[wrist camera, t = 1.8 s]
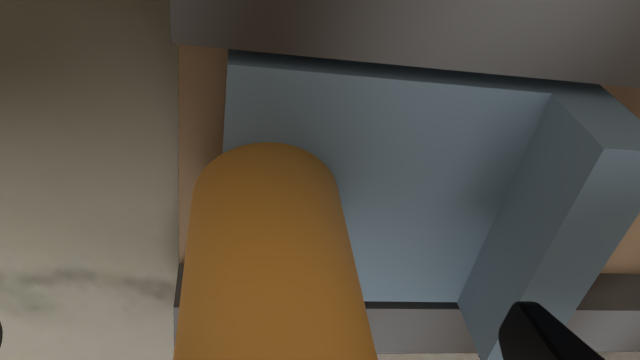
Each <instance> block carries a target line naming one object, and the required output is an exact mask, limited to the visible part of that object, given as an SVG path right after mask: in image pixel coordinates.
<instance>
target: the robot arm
mask: <svg viewBox="0 0 640 360" xmlns="http://www.w3.org/2000/svg"><path fill="white" fill-rule="evenodd" d="M2 335H3V332H2V326H1V323H0V347H1V343H2ZM498 339H499V344H500V348H501V353H502V357H503V360H605V359H604V358H602V357H601V356H600V355H599V354H598V353H597V352H595V351H594V350H593V349H592V348H591V347H590V346H588V345H587V344H586V343H585V342H584V341H583V340H581V339H580V338H579V337H578V336H577V335H576V334H574V333H573V332H572V331H571V330H570V329H568V328H567V327H566V326H565V325H564V324H563V323H561V322H560V321H559V320H558V319H557V318H556V317H554V316H553V315H552V314H551V313H550V312H549V311H547V310H546V309H545V308H544V307H543V306H542V305H540V304H539V303H537V302H534V301H516V302H515V303H513V304H512V305H511V307H510V309H509V311H508V313H507V315H506V316H505V318H504V320H503V322H502V324H501V326H500V328H499V332H498Z"/></svg>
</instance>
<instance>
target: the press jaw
mask: <svg viewBox="0 0 640 360" xmlns="http://www.w3.org/2000/svg"><path fill="white" fill-rule="evenodd" d="M639 213H640V119H638V118H637V117H636V116H635V115H634V114H633V113H632V112H630V111H629V110H628V109H627V108H626V107H625V106H624V105H622V104H621V103H620V102H619V101H618V100H617V99H616V98H614V97H613V96H612V95H611V94H610V93H609V92H608V91H606V90H605V89H604V88H603V87H602V86H601V85H600V84H592V83H581V82H571V81H560V80H550V79H539V78H529V77H518V76H507V75H497V74H486V73H476V72H465V71H455V70H444V69H434V68H423V67H413V66H402V65H391V64H381V63H370V62H360V61H349V60H339V59H328V58H318V57H307V56H297V55H286V54H275V53H265V52H254V51H244V50H233V49H228V61H227V79H226V97H225V116H224V134H223V152H222V154H221V155H220V156H218V157H217V158H215V159H214V160H213V161H212V162H210V163H209V164H208V165H207V166H206V167H205V168H204V170H203V171H202V172H201V174H200V175H199V177H198V178H197V181H196V183H195V185H194V188H193V192H192V200H191V209H190V218H189V226H188V235H187V244H186V253H185V261H184V270H183V279H182V288H181V296H180V305H179V314H178V323H177V331H176V340H175V349H174V358H173V360H378V359H377V355H376V351H375V346H374V342H373V338H372V334H371V329H370V325H369V321H368V316H367V312H366V308H365V303H364V301H382V302H457V304H458V306H459V309H460V311H461V314H462V316H463V318H464V321H465V323H466V326H467V328H468V331H469V333H470V336H471V338H472V341H473V343H474V346H475V348H476V350H477V353H478V355H479V358H480V360H503V357H502V353H501V348H500V344H499V339H498V332H499V328H500V326H501V324H502V322H503V320H504V318H505V316H506V315H507V313H508V311H509V309H510V307H511V305H512V304H513V303H515V302H516V301H534V302H537V303H539V304H540V305H542V306H543V307H544V308H545V309H546V310H547V311H549V312H550V313H551V314H552V315H553V316H554V317H556V318H557V319H558V320H559V321H560V322H561V323H563V324H564V325H566V324H567V322H568V321H569V319H570V318H571V316H572V315H573V313H574V312H575V310H576V308H577V307H578V305H579V304H580V302H581V301H582V299H583V298H584V296H585V295H586V293H587V292H588V290H589V289H590V287H591V286H592V284H593V283H594V281H595V280H596V278H597V277H598V275H599V274H600V272H601V271H602V269H603V267H604V266H605V264H606V263H607V261H608V260H609V258H610V257H611V255H612V254H613V252H614V251H615V249H616V248H617V246H618V245H619V243H620V242H621V240H622V239H623V237H624V236H625V234H626V233H627V231H628V229H629V228H630V226H631V225H632V223H633V222H634V220H635V219H636V217H637V216H638V214H639Z"/></svg>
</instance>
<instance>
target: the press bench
mask: <svg viewBox="0 0 640 360" xmlns="http://www.w3.org/2000/svg"><path fill="white" fill-rule="evenodd" d="M170 44H178V99H179V268H178V277H177V285H176V293H175V301H174V349H175V340H176V331H177V323H178V314H179V305H180V296H181V288H182V279H183V270H184V261H185V253H186V244H187V235H188V226H189V218H190V209H191V200H192V192H193V188H194V185H195V183H196V181H197V178H198V177H199V175H200V174H201V172H202V171H203V170H204V168H205V167H206V166H207V165H208V164H209V163H210V162H212V161H213V160H214V159H215V158H217V157H218V156H220V155H221V154H222V152H223V134H224V116H225V97H226V79H227V61H228V49H233V50H244V51H254V52H265V53H275V54H286V55H297V56H307V57H318V58H328V59H339V60H349V61H360V62H370V63H381V64H391V65H402V66H413V67H423V68H434V69H444V70H455V71H465V72H476V73H486V74H497V75H507V76H518V77H529V78H539V79H550V80H560V81H571V82H581V83H592V84H600V85H601V86H602V87H603V88H604V89H605V90H606V91H608V92H609V93H610V94H611V95H612V96H613V97H614V98H616V99H617V100H618V101H619V102H620V103H621V104H622V105H624V106H625V107H626V108H627V109H628V110H629V111H630V112H632V113H633V114H634V115H635V116H636V117H637V118H638V119H640V0H170ZM364 303H365V308H366V312H367V316H368V321H369V325H370V329H371V334H372V338H373V342H374V346H375V351H376V354H413V353H477V350H476V348H475V346H474V343H473V341H472V338H471V336H470V333H469V331H468V328H467V326H466V323H465V321H464V318H463V316H462V314H461V311H460V309H459V306H458V304H457V302H382V301H364ZM565 326H566V327H567V328H568V329H570V330H571V331H572V332H573V333H574V334H576V335H577V336H578V337H579V338H580V339H581V340H583V341H584V342H585V343H586V344H587V345H588V346H590V347H591V348H592V349H593V350H594V351H595V352H640V213H639V214H638V216H637V217H636V219H635V220H634V222H633V223H632V225H631V226H630V228H629V229H628V231H627V233H626V234H625V236H624V237H623V239H622V240H621V242H620V243H619V245H618V246H617V248H616V249H615V251H614V252H613V254H612V255H611V257H610V258H609V260H608V261H607V263H606V264H605V266H604V267H603V269H602V271H601V272H600V274H599V275H598V277H597V278H596V280H595V281H594V283H593V284H592V286H591V287H590V289H589V290H588V292H587V293H586V295H585V296H584V298H583V299H582V301H581V302H580V304H579V305H578V307H577V308H576V310H575V312H574V313H573V315H572V316H571V318H570V319H569V321H568V322H567V324H566V325H565Z"/></svg>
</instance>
